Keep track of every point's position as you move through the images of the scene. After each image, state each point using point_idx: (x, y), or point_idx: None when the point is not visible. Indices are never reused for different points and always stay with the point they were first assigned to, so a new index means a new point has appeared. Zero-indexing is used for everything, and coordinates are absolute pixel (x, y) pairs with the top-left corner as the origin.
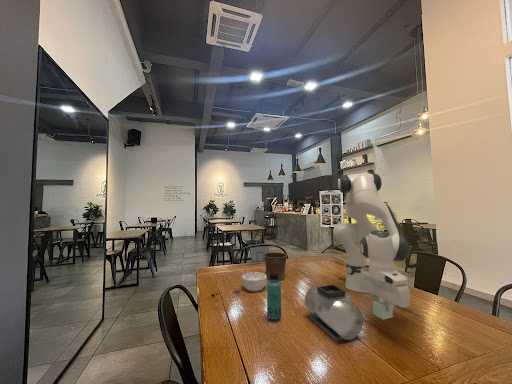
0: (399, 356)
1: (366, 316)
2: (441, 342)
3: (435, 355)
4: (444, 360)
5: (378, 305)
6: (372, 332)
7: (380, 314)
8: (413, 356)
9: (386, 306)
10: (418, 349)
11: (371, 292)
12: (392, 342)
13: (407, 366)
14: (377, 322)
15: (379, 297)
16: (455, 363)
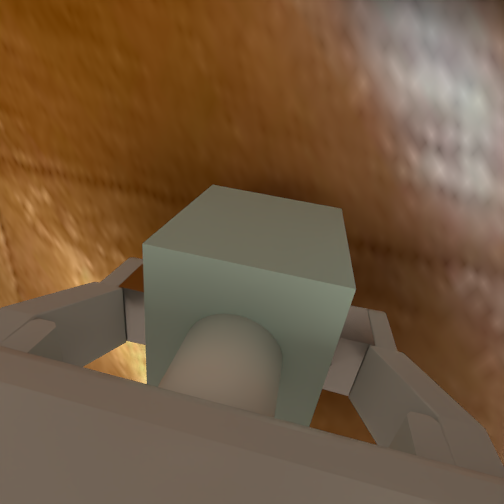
0: (93, 58)
1: (481, 313)
2: (122, 352)
3: (62, 242)
4: (29, 237)
5: (234, 251)
6: (341, 157)
7: (232, 201)
8: (76, 139)
9: (150, 304)
10: (113, 224)
11: (461, 482)
12: (204, 165)
13: (13, 3)
14: (386, 299)
15: (224, 397)
16: (8, 252)
